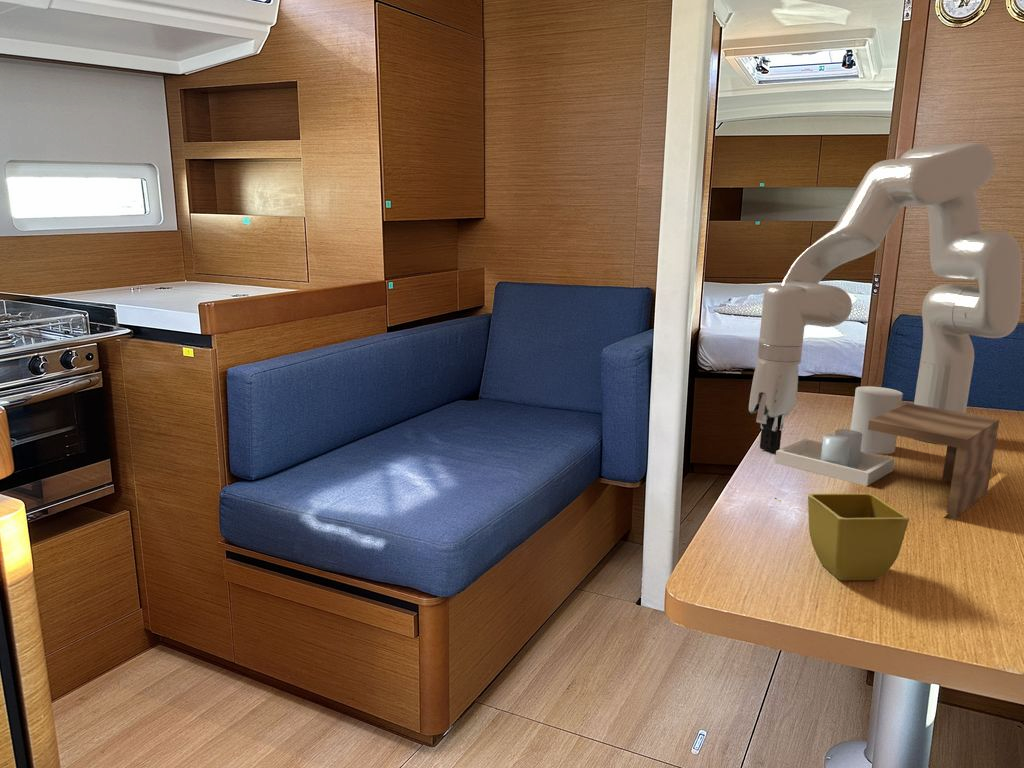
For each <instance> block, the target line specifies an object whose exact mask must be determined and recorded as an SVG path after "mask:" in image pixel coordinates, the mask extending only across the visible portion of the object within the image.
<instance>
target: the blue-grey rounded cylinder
mask: <svg viewBox="0 0 1024 768" xmlns="http://www.w3.org/2000/svg"><path fill="white" fill-rule="evenodd" d="M822 436H823V437H822V442H823V443H822V452H821V460H822V461H826V462H830V463H834V464H838V465H842V466H846V467H847V466H848V459H849V451H850V443H851V439H850V438H848V437H845V436H841V435H835V434H833V433H831V434H830V433H829V434H825V435H822Z"/></svg>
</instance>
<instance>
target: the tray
mask: <svg viewBox="0 0 1024 768" xmlns="http://www.w3.org/2000/svg"><path fill="white" fill-rule="evenodd" d="M822 443H823V441H817V440H813V439H808V438H804V439H801V440H799V441H797V442H794V443H792V444H789V445H788V446H784V447H782V448H780V450H777V451H776V452H775V459H774V460H775V461H774V464H778V465H781V466H785V467H790V468H793V469H797V470H801V471H805V472H808V473H813V474H816V475H820V476H824V477H829V478H833V479H835V480H836V479H837V480H840V481H843V482H848V483H852V484H856V485H860V486H864V487H868V486H870V485H872V484H873V483H876V481H878V480H880V479H882V478H883V477H885V476H887V475H889V474H890V473H891V472H893V471H894V466H895V465H894V464H895V458H892V457H888V456H884V455H881V454H875V453H868V452H863V451H860V458H859V465H858V468H856V469H855V468H850V467H846V466H842V465H838V464H834V463H830V462H826V461H822V460H821V452H822Z"/></svg>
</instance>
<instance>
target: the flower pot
mask: <svg viewBox="0 0 1024 768" xmlns="http://www.w3.org/2000/svg"><path fill="white" fill-rule="evenodd" d="M807 510H808V512H807V513H808V514H807V515H808V531H809V537H810V541H811V544H812V548H813V549H814V552H815V555H816V556H817V558H818V561H819V562H820V564H821V565H822V566H823V567H824V568H825V569H826V570H828V571H829V572H830V573H831V574H832V575H833V576H834V577H835V578H836V579H838V580H840V581H877V580H879V579H881V578H882V577H883V576H884V575H885V574H886V573H888V571H889V570H890V569H891V568H892V567H893V565H894V563H895V562H896V560H897V559H898V557H899V554H900V552H901V549H902V545H903V542H904V538H905V535H906V531H907V528H908V526H909V525H908V524H909V521H910V517H909V516H908V515H906V514H904V513H903V512H901V511H899V510H897V508H894V507H892V506H891V505H889V504H888V503H886V502H885V501H884V500H882V499H880V498H879V497H878V496H876V495H874V494H872V493H860V492H859V493H808V494H807Z"/></svg>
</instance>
